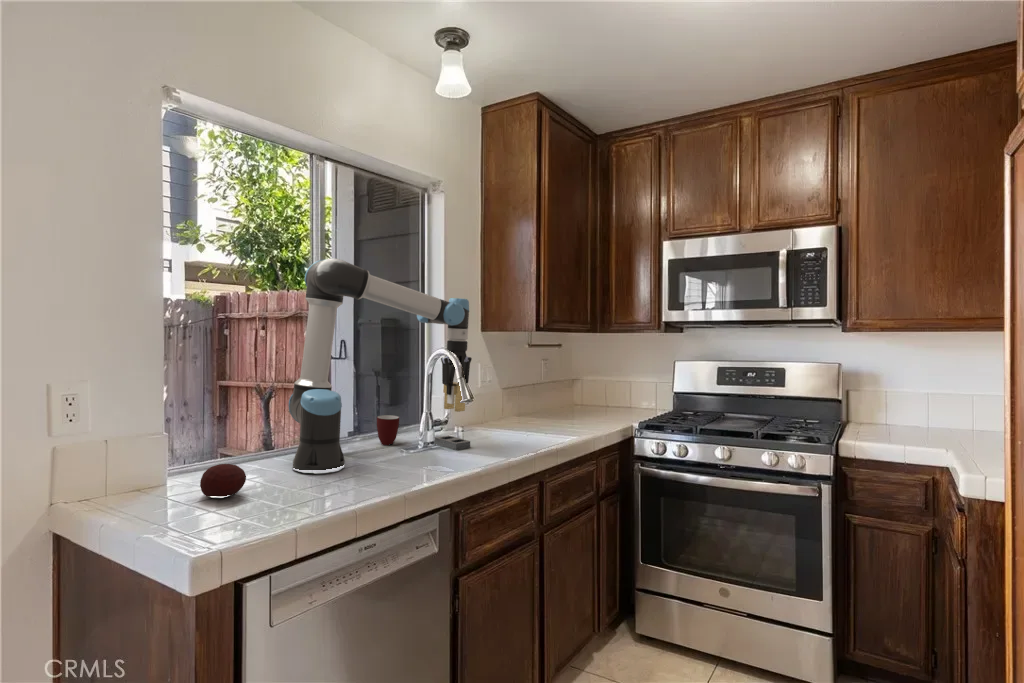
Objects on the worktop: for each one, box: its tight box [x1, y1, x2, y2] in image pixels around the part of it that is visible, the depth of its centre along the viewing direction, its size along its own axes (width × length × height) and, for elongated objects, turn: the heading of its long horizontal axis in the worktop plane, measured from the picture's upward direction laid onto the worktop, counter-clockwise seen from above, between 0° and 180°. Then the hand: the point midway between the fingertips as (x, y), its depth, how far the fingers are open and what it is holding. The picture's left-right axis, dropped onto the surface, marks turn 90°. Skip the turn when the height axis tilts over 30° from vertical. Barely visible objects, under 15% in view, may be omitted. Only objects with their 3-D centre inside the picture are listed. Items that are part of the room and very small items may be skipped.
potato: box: [199, 463, 247, 497], centre depth 147 cm, size 12×11×8 cm
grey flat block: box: [434, 435, 471, 451], centre depth 216 cm, size 7×12×2 cm, turn 48°
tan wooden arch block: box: [443, 381, 466, 413], centre depth 215 cm, size 4×9×10 cm, turn 47°
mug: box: [376, 414, 400, 446], centre depth 214 cm, size 11×8×10 cm
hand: (454, 402), depth 215 cm, fingers closed on tan wooden arch block, 3 cm apart
